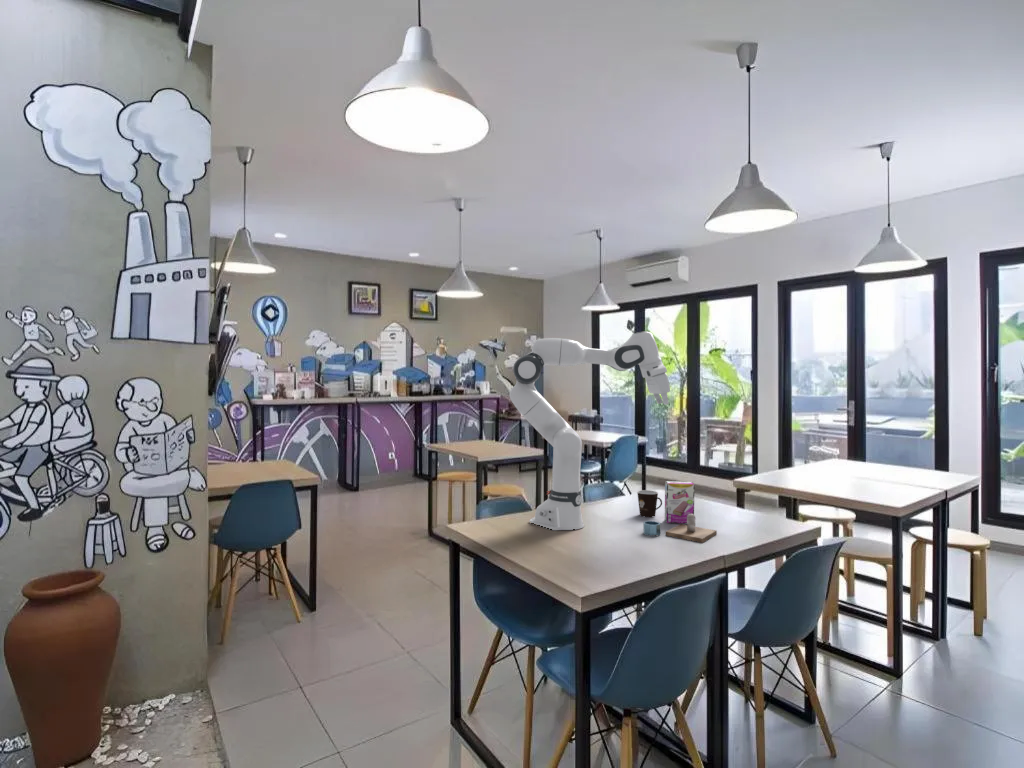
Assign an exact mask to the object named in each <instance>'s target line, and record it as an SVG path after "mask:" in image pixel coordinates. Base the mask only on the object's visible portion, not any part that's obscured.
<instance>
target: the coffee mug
mask: <svg viewBox="0 0 1024 768" xmlns="http://www.w3.org/2000/svg"><path fill="white" fill-rule="evenodd" d="M658 495H659V492H658V491H655V490H648V489H644V490H643V489H642V490H637V500H638V509H639V510H638V511H639V516H640V515H641V517H643V516H645V517H644V518H653V517H652V516H655V517H656V513H657V510H658V509H660V508H661V506H662V505H663V500H662V499H661V498H660V497H658ZM658 501H659V503H660V504H659V506H658V507H657V505H658V504H657V503H658Z"/></svg>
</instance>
